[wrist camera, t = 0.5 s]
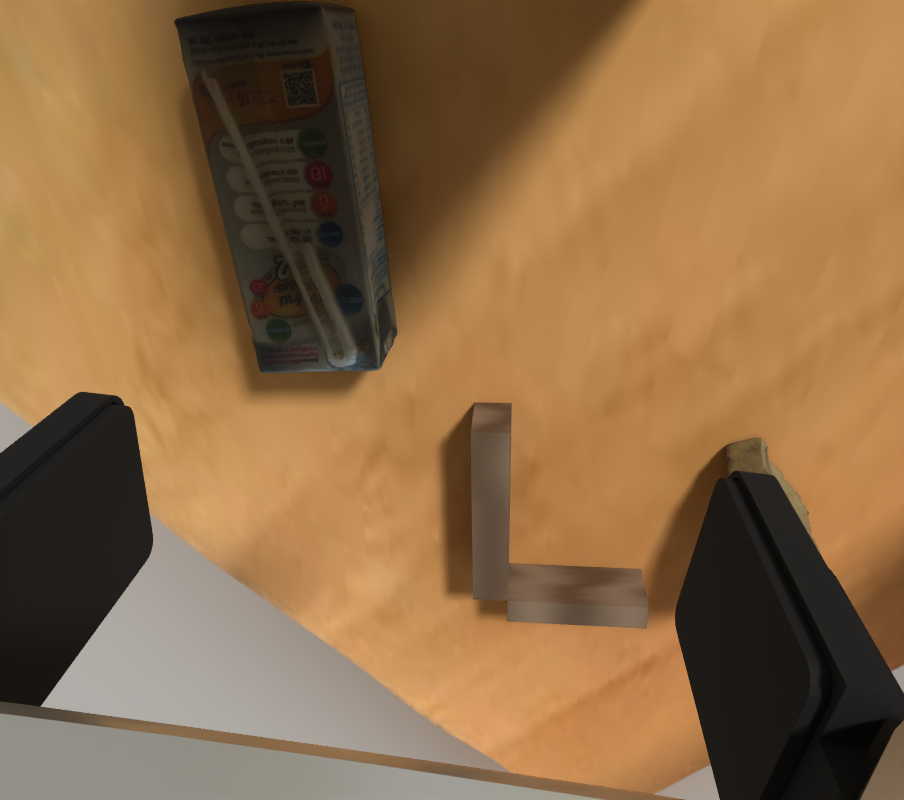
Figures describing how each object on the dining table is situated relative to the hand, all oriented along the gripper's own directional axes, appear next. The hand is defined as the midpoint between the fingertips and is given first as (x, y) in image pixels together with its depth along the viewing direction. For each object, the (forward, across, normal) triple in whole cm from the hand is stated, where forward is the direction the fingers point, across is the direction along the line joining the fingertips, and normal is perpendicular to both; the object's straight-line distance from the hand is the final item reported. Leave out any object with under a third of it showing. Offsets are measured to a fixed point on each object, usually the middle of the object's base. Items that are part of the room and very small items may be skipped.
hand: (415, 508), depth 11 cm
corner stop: (+32, -7, +22) cm, 40 cm away
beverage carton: (+33, +10, +2) cm, 34 cm away
